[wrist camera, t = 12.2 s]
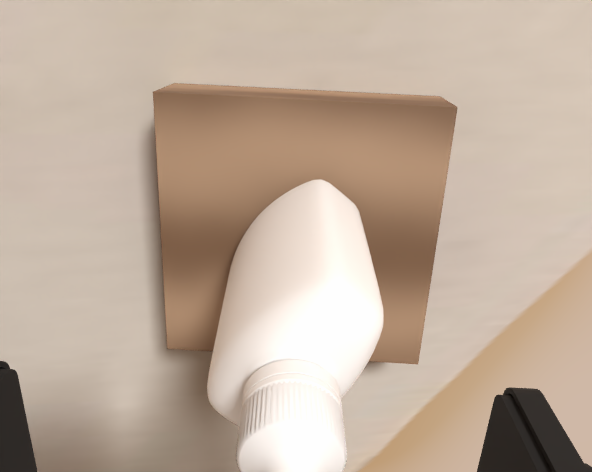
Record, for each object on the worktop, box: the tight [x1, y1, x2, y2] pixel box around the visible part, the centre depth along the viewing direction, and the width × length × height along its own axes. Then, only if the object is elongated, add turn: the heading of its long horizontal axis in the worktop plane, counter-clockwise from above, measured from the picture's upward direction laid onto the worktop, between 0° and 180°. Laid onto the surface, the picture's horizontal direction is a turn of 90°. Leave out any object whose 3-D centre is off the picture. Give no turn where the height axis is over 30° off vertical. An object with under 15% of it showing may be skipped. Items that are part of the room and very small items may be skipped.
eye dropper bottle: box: [207, 179, 383, 472], centre depth 16 cm, size 4×6×12 cm
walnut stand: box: [153, 83, 457, 364], centre depth 23 cm, size 11×11×3 cm
